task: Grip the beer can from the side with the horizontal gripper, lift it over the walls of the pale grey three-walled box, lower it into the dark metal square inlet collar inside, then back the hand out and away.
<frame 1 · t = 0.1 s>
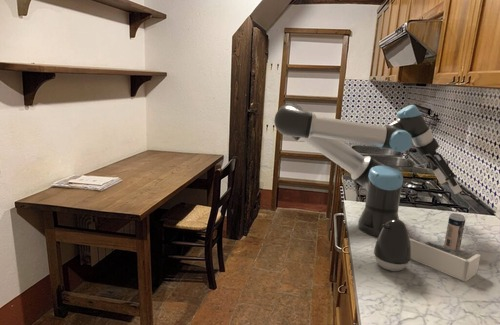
hand: (450, 187, 141), 15 cm above the countertop, tool tilted 35°, fingers open, 13 cm apart
black glossy domed part: (389, 267, 107), on the countertop
walled box: (434, 258, 114), on the countertop
beer can: (451, 249, 122), on the countertop
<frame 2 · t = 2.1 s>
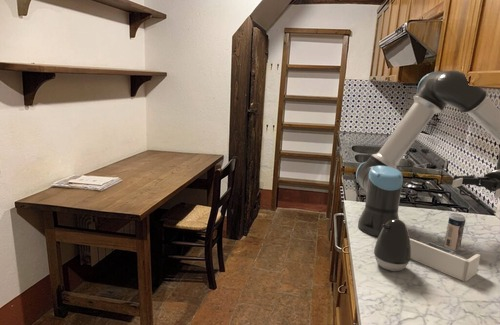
hand: (474, 188, 123), 20 cm above the countertop, tool horizontal, fingers open, 13 cm apart
nothing on the countertop moved.
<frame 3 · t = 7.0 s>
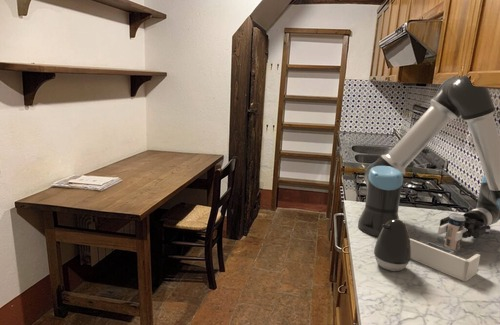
hand: (447, 233, 117), 7 cm above the countertop, tool horizontal, fingers closed on beer can, 5 cm apart
beer can: (451, 249, 122), on the countertop, touching gripper
everything else where it was.
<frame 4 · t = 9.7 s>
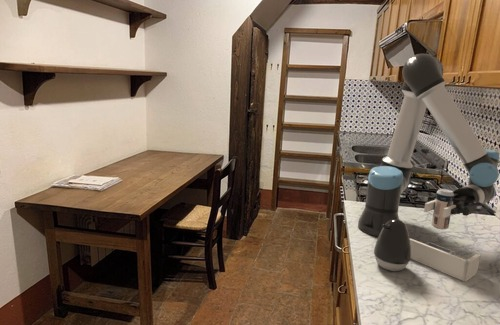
hand: (434, 210, 107), 17 cm above the countertop, tool horizontal, fingers closed on beer can, 5 cm apart
beer can: (439, 227, 112), point 11 cm above the countertop, touching gripper
everything else where it was.
when the fingers open (9 cm above the countertop, at t = 12.2 s): beer can drops 1 cm, resting on walled box.
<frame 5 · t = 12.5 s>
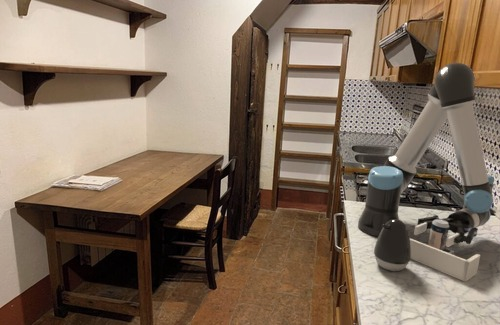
hand: (431, 236, 109), 9 cm above the countertop, tool horizontal, fingers open, 9 cm apart
beer can: (433, 257, 114), resting on walled box
everything else where it was.
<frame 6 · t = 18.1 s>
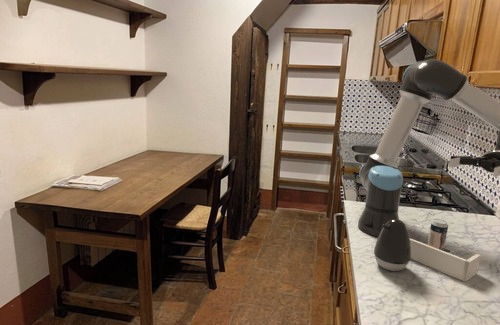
hand: (471, 167, 118), 28 cm above the countertop, tool horizontal, fingers open, 13 cm apart
nothing on the countertop moved.
at the end: beer can 0.1 cm off-centre on the walled box, point 0.4 cm above the walled box's base; beer can tilted 0°; the gripper is holding nothing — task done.
